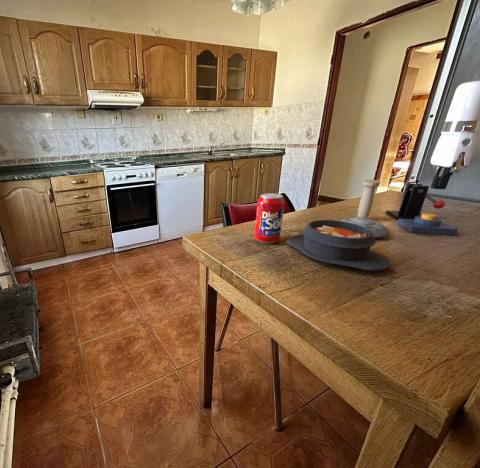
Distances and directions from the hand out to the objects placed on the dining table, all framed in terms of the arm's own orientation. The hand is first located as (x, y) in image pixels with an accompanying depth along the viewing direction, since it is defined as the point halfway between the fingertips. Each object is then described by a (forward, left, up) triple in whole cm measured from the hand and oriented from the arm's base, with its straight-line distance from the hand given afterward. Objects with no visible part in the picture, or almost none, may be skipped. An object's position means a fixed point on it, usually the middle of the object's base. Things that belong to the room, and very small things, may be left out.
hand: (437, 188), depth 84 cm
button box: (0, 0, -14) cm, 14 cm away
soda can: (+53, +22, -15) cm, 59 cm away
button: (0, 0, -11) cm, 11 cm away
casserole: (+36, +30, -15) cm, 49 cm away
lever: (-6, -15, -7) cm, 18 cm away
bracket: (-2, -15, -14) cm, 21 cm away
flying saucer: (+22, +8, -15) cm, 27 cm away
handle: (+16, -8, -15) cm, 23 cm away
